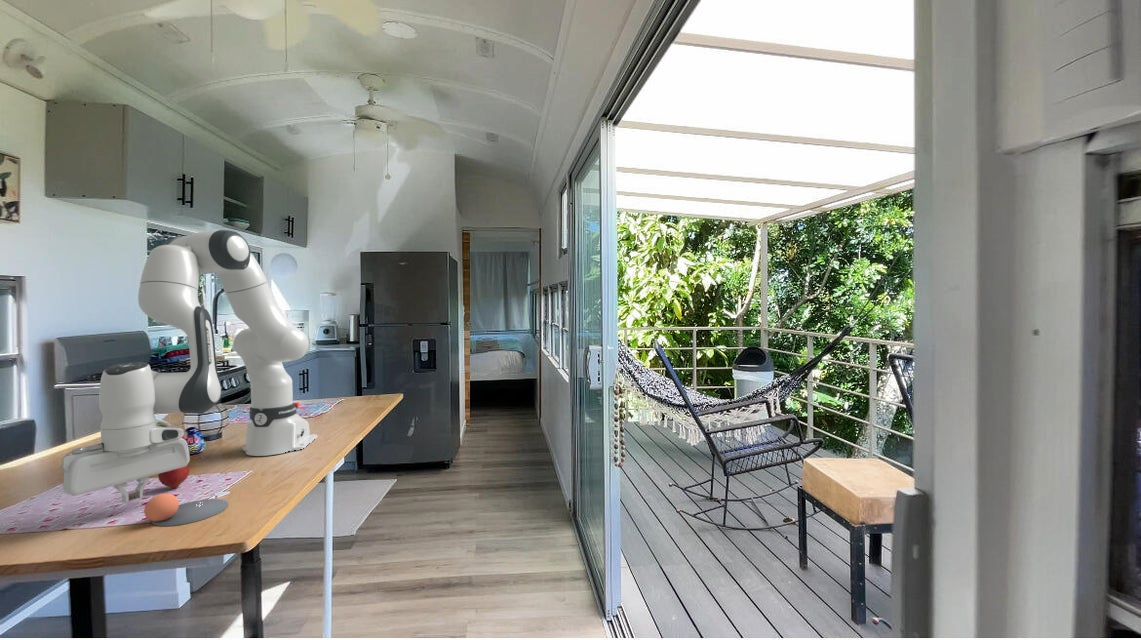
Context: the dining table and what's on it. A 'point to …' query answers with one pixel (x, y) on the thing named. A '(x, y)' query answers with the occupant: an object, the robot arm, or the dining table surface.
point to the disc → (194, 512)
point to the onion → (174, 477)
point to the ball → (161, 507)
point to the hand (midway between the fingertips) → (132, 499)
